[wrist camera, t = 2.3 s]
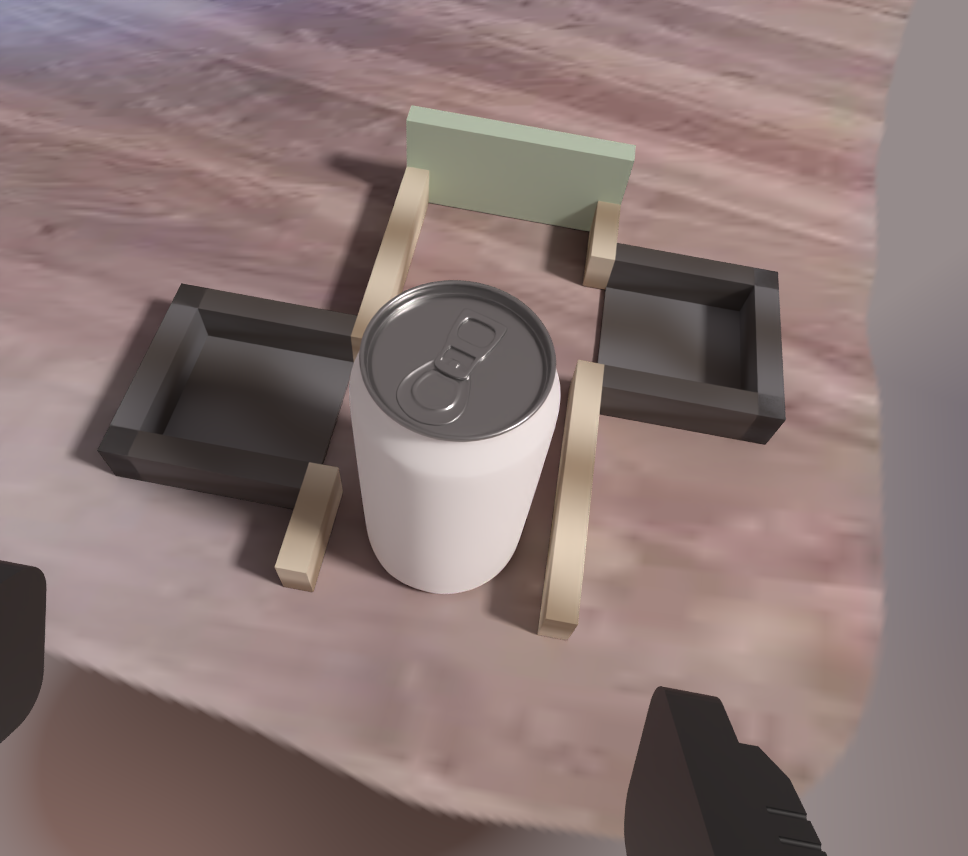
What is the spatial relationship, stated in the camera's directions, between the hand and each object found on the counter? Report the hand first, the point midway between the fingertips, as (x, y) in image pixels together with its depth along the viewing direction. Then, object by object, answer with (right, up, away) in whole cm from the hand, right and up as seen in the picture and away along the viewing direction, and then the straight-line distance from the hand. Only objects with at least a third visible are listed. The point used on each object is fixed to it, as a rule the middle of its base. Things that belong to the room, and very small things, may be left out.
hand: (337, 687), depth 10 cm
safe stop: (+3, +15, +32) cm, 35 cm away
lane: (+1, +5, +25) cm, 26 cm away
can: (0, -1, +22) cm, 22 cm away
